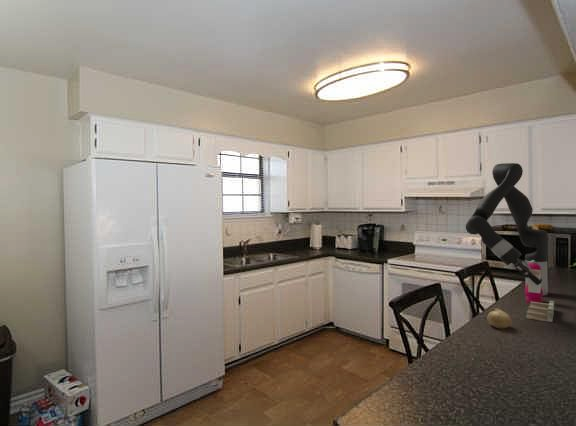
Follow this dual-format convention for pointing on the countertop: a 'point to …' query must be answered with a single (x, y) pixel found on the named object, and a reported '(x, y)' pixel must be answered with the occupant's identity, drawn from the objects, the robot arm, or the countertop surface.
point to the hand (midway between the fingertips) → (540, 282)
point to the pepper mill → (531, 295)
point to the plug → (531, 285)
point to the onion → (499, 319)
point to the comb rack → (541, 311)
